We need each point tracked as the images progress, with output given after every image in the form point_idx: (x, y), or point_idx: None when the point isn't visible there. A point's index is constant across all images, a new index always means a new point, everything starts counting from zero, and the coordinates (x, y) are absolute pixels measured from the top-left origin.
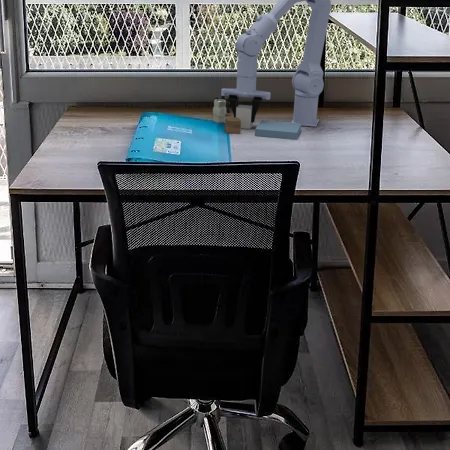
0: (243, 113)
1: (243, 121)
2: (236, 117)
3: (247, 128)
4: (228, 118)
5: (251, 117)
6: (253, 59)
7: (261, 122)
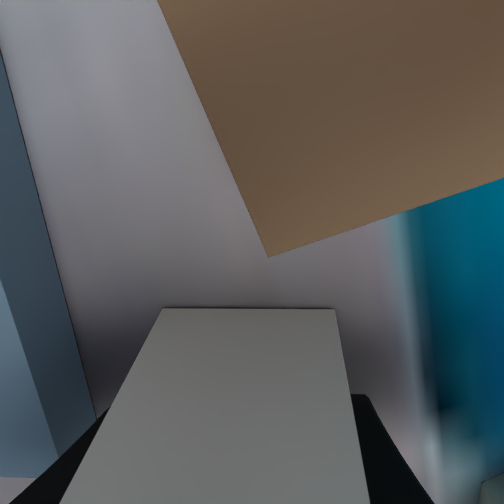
0: (221, 452)
1: (232, 358)
2: (339, 394)
3: (192, 310)
4: (486, 73)
5: None
6: None
7: (26, 398)
